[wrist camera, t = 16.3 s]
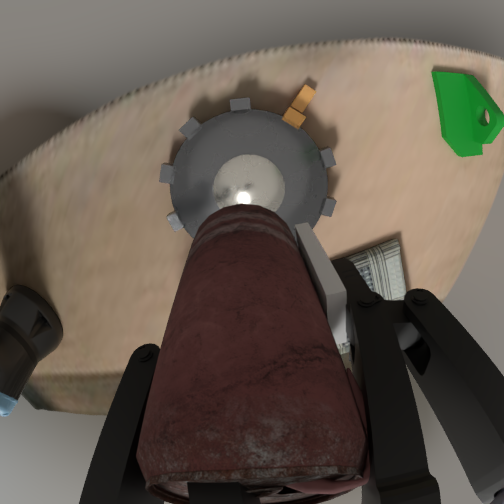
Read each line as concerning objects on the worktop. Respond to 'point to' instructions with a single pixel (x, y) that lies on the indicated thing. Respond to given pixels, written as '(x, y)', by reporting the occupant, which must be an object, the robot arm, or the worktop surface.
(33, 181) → the worktop surface
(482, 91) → the bracket
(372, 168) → the worktop surface
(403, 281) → the dish towel
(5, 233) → the worktop surface
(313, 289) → the can
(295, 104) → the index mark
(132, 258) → the worktop surface
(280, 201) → the sprocket
